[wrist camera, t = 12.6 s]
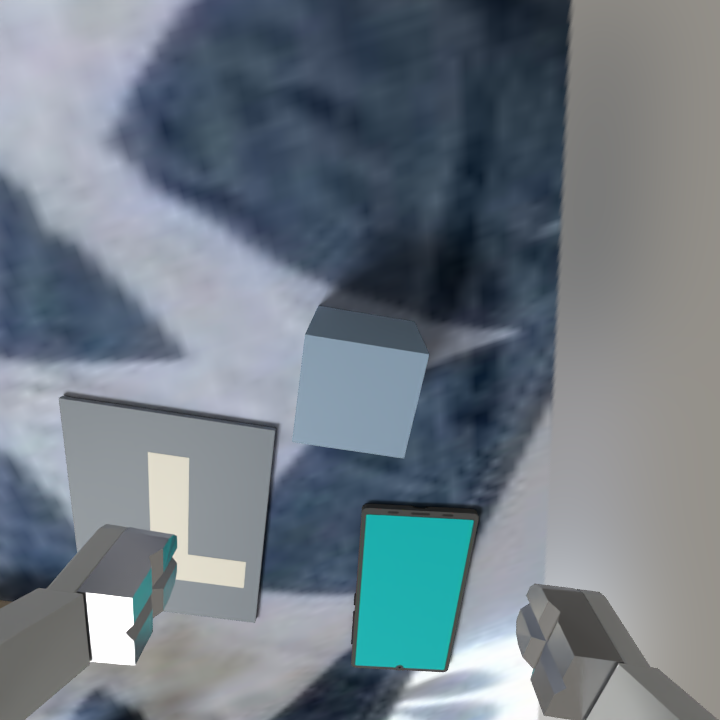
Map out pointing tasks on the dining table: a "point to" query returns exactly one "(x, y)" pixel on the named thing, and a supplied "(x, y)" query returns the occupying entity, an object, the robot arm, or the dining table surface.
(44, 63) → the dining table surface
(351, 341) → the steel-blue cube
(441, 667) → the smartphone
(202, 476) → the letter card
